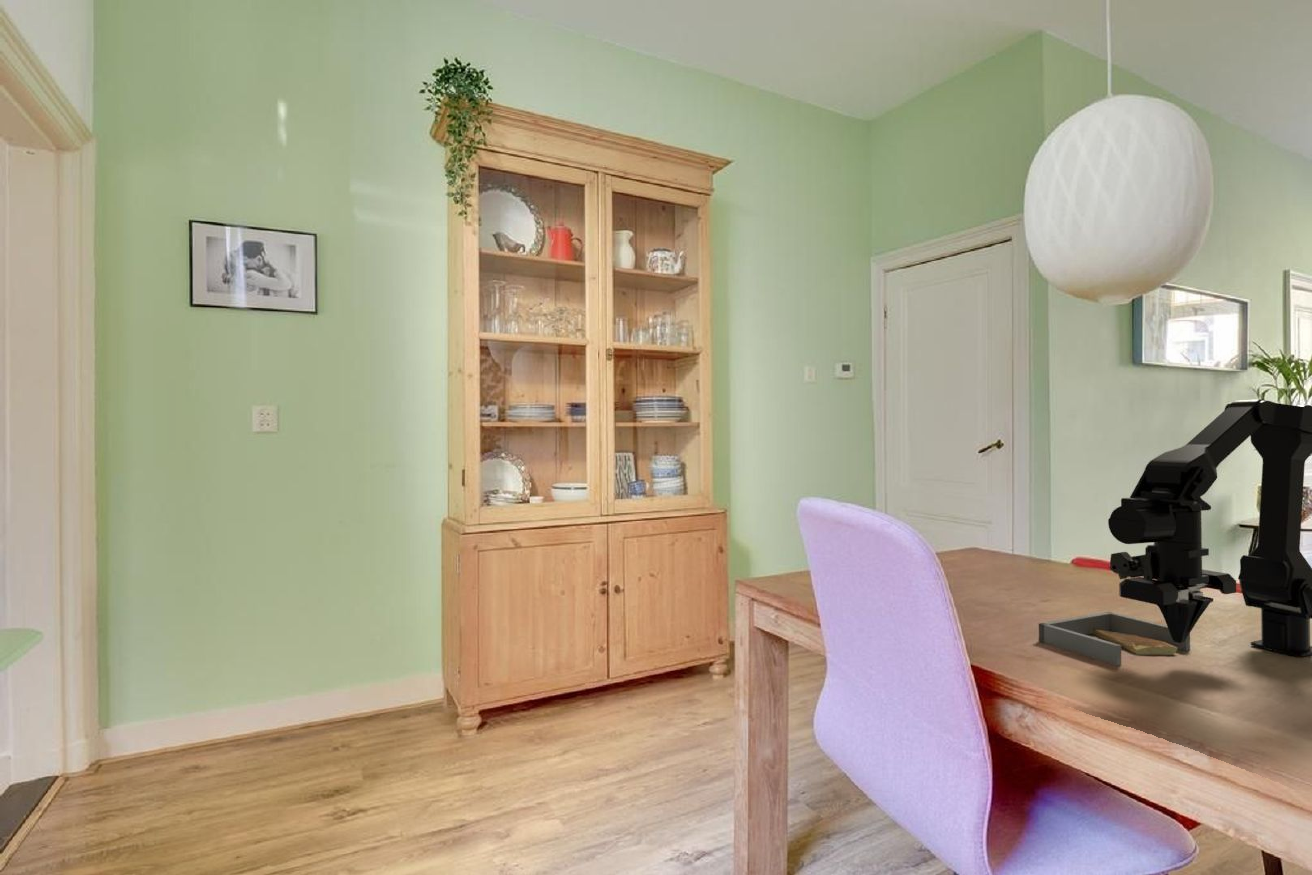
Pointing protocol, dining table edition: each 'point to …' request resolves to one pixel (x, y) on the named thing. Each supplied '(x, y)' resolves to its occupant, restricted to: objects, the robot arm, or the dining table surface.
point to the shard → (1137, 643)
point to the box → (1076, 640)
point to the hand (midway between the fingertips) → (1178, 641)
